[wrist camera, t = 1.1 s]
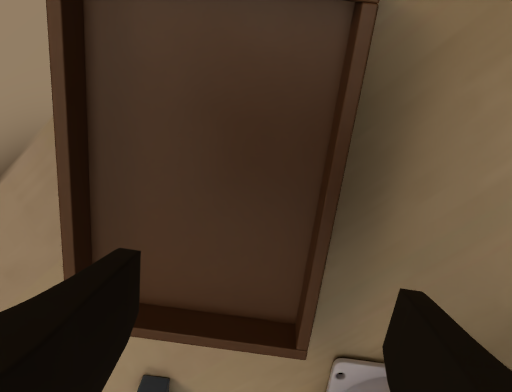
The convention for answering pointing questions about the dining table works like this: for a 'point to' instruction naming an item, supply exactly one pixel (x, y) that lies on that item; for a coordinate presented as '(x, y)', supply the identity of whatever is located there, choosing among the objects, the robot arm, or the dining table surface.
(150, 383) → the blue block and disc
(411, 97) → the dining table surface
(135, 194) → the tray
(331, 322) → the dining table surface
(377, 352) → the dining table surface
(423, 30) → the dining table surface
